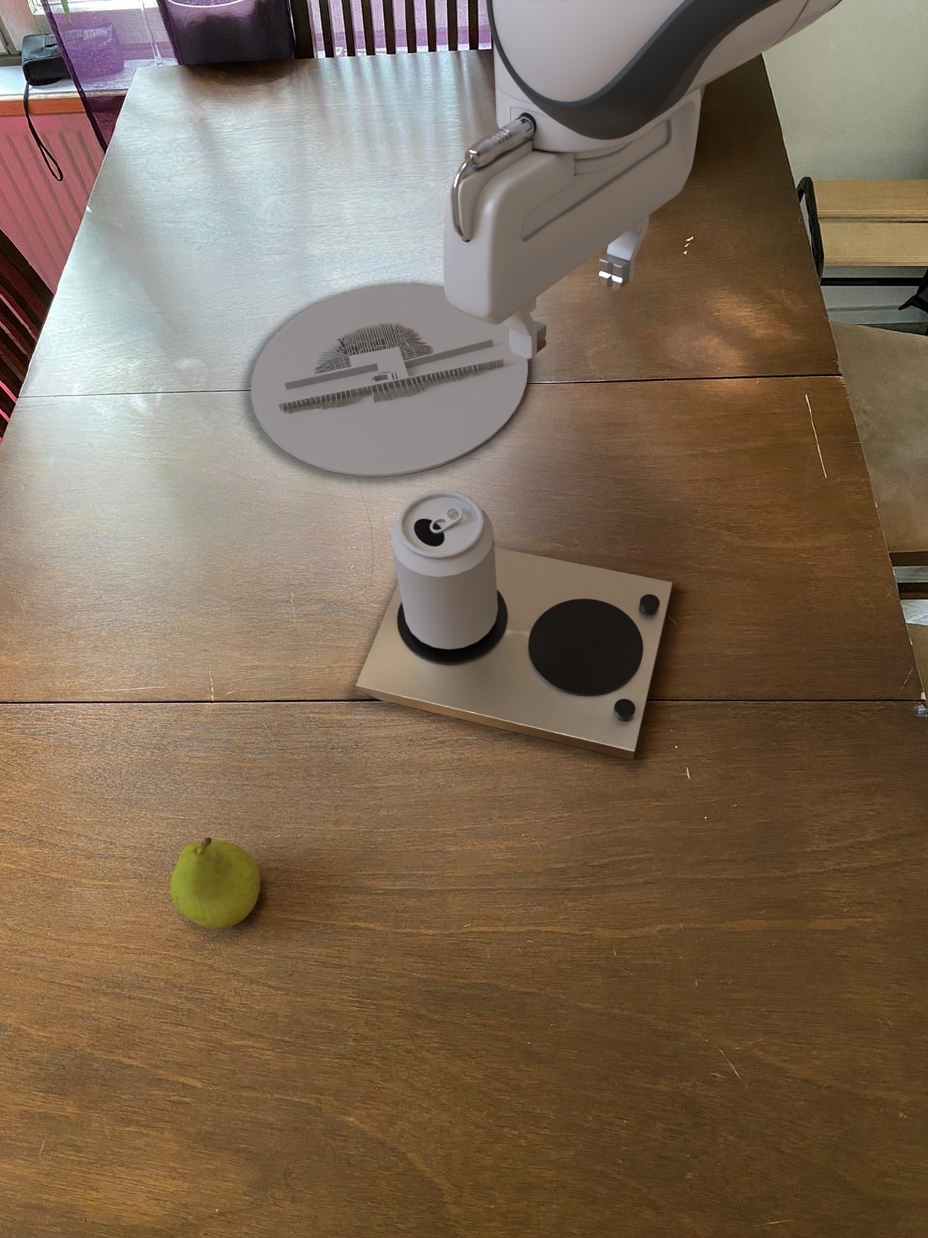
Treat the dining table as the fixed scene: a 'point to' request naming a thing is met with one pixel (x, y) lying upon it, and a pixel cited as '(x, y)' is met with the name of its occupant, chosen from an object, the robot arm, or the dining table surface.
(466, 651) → the hob
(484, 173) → the robot arm
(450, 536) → the can
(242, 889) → the fruit
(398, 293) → the plate
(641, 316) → the dining table surface
